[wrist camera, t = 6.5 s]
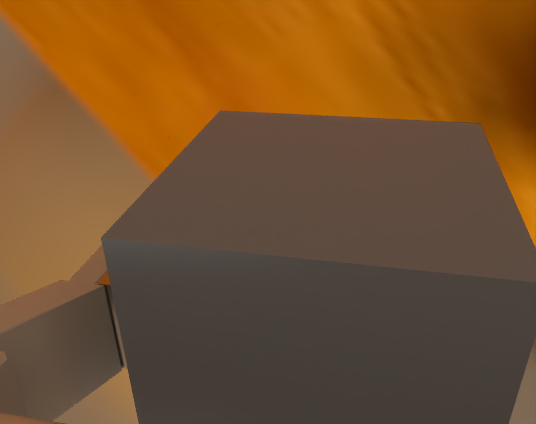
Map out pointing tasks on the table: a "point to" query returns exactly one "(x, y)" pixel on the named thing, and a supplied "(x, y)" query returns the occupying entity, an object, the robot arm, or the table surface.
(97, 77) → the table surface
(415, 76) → the table surface
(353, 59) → the table surface
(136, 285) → the block
